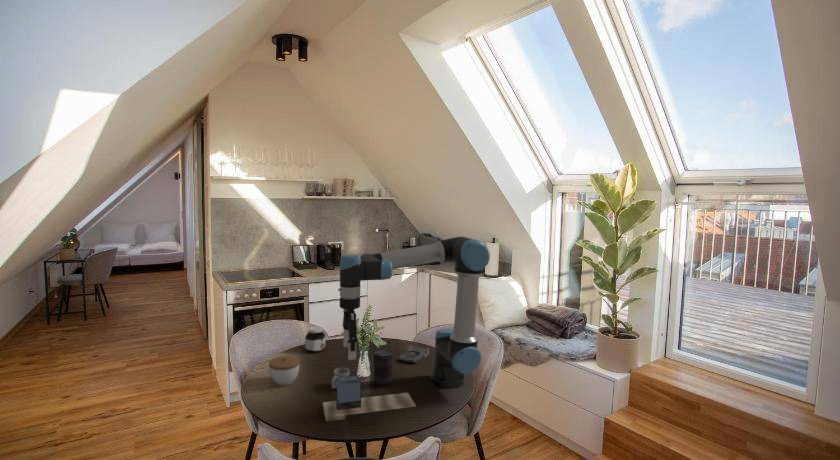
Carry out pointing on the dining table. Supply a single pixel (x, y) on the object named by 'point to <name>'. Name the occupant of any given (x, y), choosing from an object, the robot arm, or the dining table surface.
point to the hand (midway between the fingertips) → (349, 352)
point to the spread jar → (315, 340)
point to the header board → (366, 405)
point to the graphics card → (414, 354)
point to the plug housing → (348, 389)
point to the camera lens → (383, 368)
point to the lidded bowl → (284, 369)
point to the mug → (339, 373)
